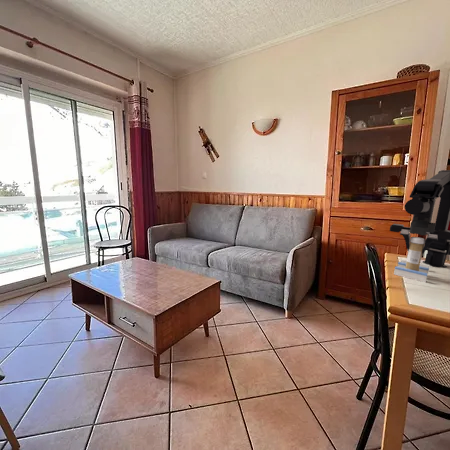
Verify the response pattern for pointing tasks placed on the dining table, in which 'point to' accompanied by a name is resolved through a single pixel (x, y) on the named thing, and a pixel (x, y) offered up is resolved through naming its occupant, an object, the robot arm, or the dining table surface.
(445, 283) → the dining table surface
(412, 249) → the sprinkles bottle
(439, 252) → the robot arm
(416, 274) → the rail comb
